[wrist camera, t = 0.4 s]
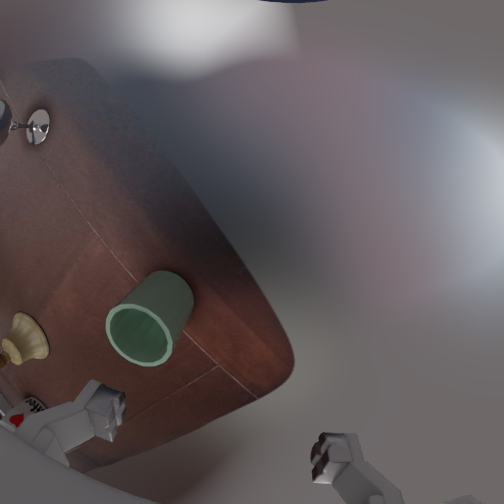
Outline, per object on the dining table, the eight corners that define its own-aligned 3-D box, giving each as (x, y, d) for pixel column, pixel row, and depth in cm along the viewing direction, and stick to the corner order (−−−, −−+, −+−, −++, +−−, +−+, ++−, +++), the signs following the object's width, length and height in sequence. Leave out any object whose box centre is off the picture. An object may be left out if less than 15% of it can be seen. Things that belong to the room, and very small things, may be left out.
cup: (60, 418, 40) (37, 451, 30) (45, 423, 42) (24, 452, 32) (31, 387, 38) (4, 418, 29) (19, 394, 40) (-5, 422, 30)
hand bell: (15, 340, 35) (-41, 391, 20) (13, 302, 33) (-56, 352, 18) (50, 366, 36) (-4, 428, 20) (49, 329, 33) (-18, 393, 18)
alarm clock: (31, 444, 41) (7, 444, 43) (39, 432, 46) (14, 434, 47) (-16, 388, 37) (-33, 395, 39) (-6, 377, 42) (-24, 386, 43)
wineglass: (48, 152, 26) (-30, 158, 15) (20, 147, 26) (-51, 153, 15) (58, 104, 25) (-17, 93, 13) (29, 103, 25) (-41, 97, 13)
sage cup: (142, 263, 30) (106, 294, 22) (199, 279, 30) (176, 317, 22) (137, 313, 31) (105, 352, 24) (189, 330, 31) (168, 375, 24)
